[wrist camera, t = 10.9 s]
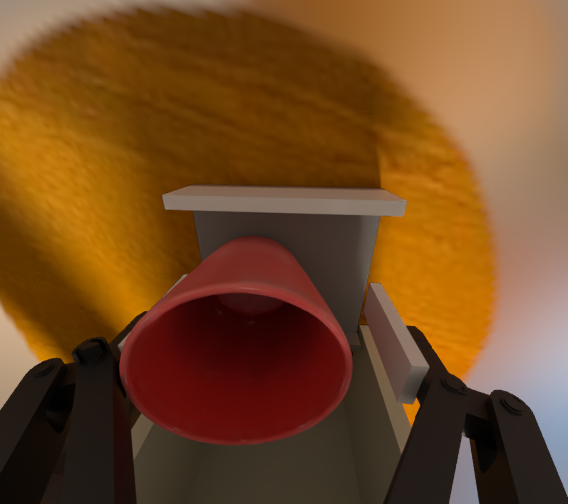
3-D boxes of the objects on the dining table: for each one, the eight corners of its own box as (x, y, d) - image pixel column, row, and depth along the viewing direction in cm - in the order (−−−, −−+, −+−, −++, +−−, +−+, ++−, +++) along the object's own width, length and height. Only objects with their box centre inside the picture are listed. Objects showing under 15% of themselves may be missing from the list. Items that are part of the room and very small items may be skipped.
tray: (216, 322, 24) (199, 358, 20) (193, 184, 17) (161, 195, 13) (353, 331, 23) (364, 370, 19) (381, 188, 16) (406, 200, 12)
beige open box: (216, 395, 30) (69, 825, 11) (200, 315, 23) (-199, 975, 5) (351, 406, 28) (448, 907, 10) (371, 325, 22) (729, 1243, 4)
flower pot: (336, 235, 18) (401, 321, 9) (293, 333, 22) (307, 456, 13) (203, 196, 16) (117, 256, 7) (184, 311, 20) (116, 438, 11)
